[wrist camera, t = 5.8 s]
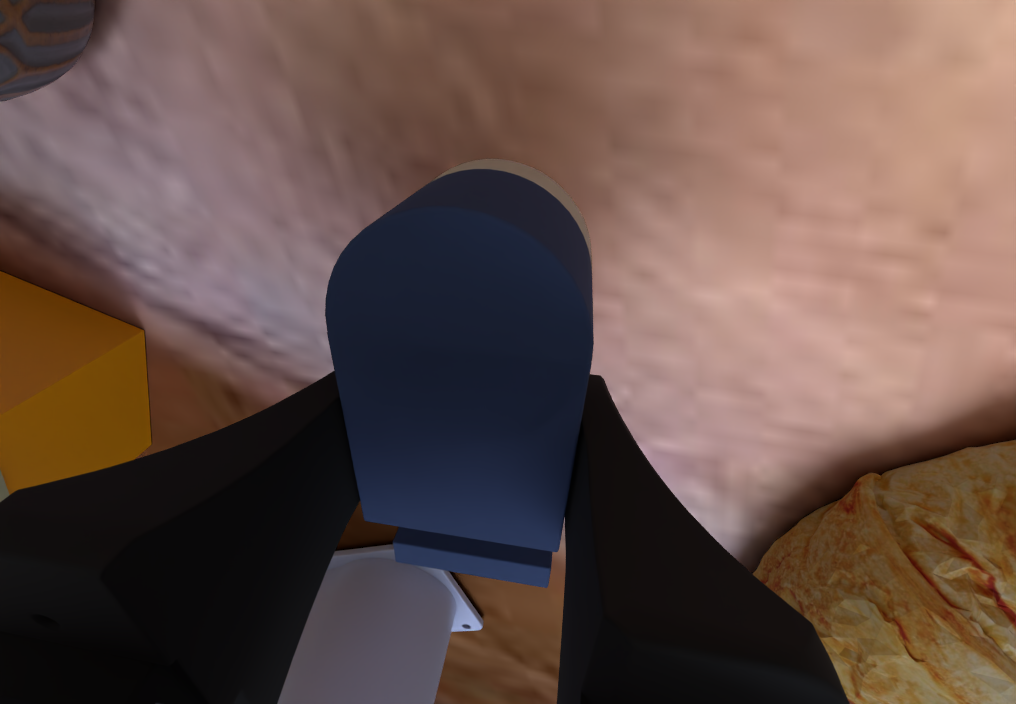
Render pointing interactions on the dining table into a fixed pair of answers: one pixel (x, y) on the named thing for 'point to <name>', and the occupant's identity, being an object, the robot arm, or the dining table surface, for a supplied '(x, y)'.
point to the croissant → (912, 580)
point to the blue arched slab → (467, 367)
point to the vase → (40, 42)
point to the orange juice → (66, 388)
